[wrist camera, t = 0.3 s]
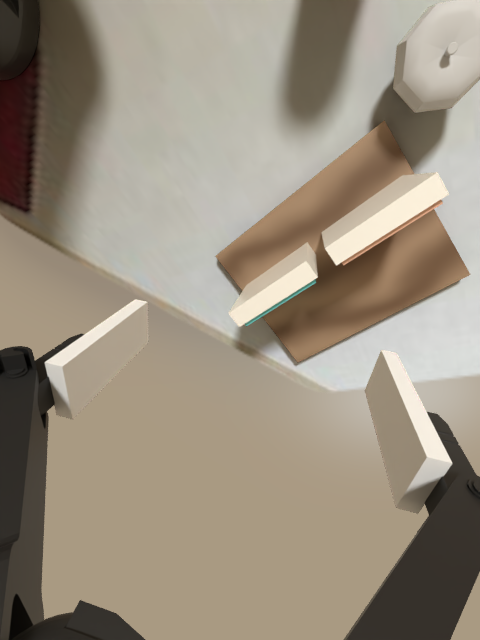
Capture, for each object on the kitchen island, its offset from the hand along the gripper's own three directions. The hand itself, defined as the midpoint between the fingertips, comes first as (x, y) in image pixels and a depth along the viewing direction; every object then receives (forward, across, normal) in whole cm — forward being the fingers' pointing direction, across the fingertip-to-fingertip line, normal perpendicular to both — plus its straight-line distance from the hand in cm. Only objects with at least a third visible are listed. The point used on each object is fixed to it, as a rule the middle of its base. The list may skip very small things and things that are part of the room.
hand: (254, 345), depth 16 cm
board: (+26, +6, -1) cm, 26 cm away
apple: (+26, +10, +19) cm, 34 cm away
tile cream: (+24, +8, +6) cm, 26 cm away
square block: (+24, 0, -3) cm, 24 cm away
